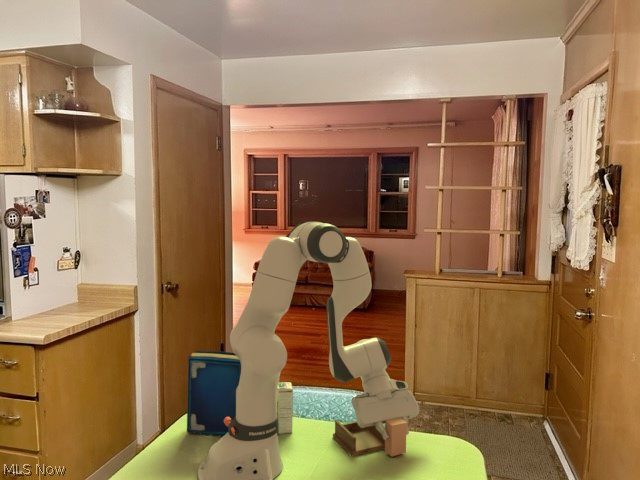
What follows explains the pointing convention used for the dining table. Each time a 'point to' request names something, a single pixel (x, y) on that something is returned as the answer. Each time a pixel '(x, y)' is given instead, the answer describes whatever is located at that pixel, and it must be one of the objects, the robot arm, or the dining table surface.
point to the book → (211, 391)
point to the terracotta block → (396, 436)
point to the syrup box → (285, 406)
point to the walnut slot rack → (358, 438)
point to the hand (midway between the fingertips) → (396, 436)
